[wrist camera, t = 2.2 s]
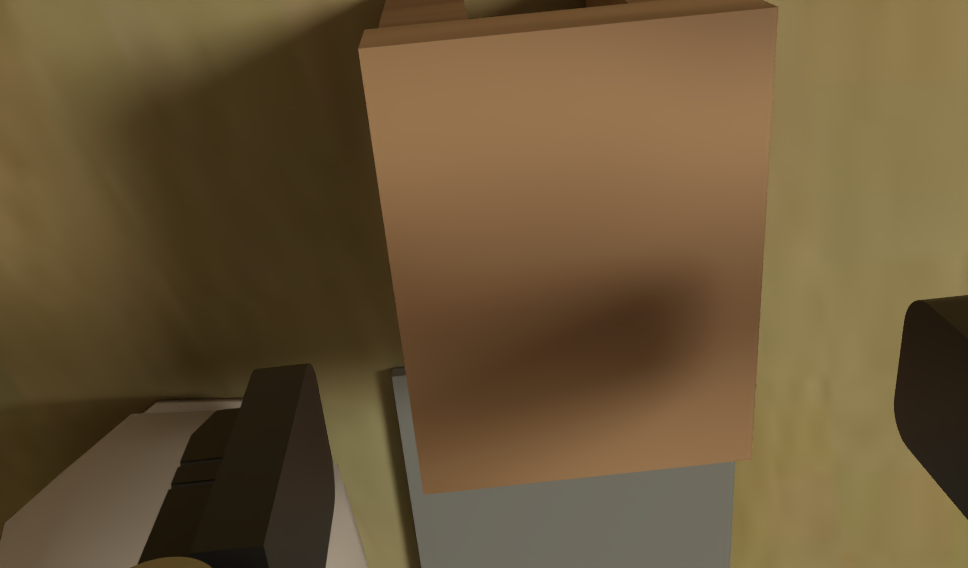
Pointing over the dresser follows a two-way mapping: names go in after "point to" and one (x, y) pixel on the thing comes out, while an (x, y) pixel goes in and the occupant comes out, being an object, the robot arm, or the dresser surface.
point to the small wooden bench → (574, 231)
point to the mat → (573, 517)
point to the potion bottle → (131, 497)
